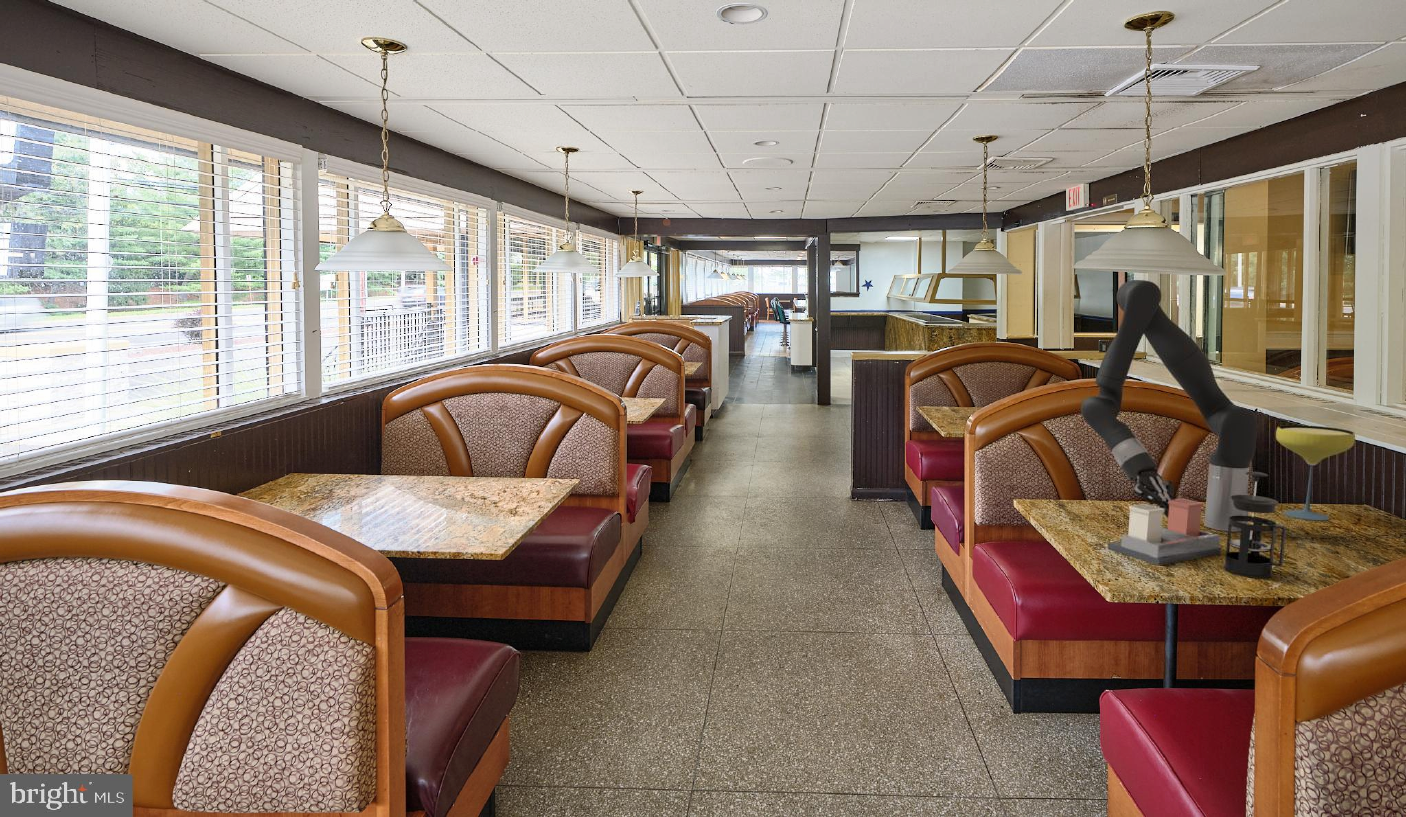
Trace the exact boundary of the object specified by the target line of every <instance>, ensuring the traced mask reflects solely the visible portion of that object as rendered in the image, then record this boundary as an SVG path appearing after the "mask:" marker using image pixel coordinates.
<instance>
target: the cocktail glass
mask: <svg viewBox="0 0 1406 817" xmlns="http://www.w3.org/2000/svg"><path fill="white" fill-rule="evenodd" d="M1275 438H1276V441H1277V442H1278V443H1279V444H1280V445H1282V446H1283V447H1284V448H1286V449H1288V450H1290V451H1291V452H1293V453H1295V454H1297V455H1298V456H1300V457H1302V459H1303V460H1304V461H1305V463H1306V464H1308V466H1310V467H1309V476H1308V485H1307V493H1306V500H1305V501H1306V502H1305V505H1304V508H1303V509H1301V510H1300V509H1299V510H1298V509H1297V510H1295V509H1294V510H1289V509H1288V510H1285V511H1284V512H1283V514H1284V515H1285V516H1287V517H1290V518H1294V519H1298V520H1303V521H1313V522H1326V521H1329V520H1330V519H1331V517H1330V516H1328V515H1326V514H1323V513H1319V512H1314V511H1312V510H1311V489H1312V479H1313V478H1312V477H1313V470H1314V469H1313V468H1314V466H1315V465H1318V464H1319V463H1320V462H1321V461H1322V460H1324V459H1326V458H1328V457H1332V456H1335V455H1338V454H1342V453H1344V452H1346V451H1348V450H1350V449H1351V448H1352V447H1353V446H1354V445H1355V442H1356V434H1355V432H1354V431H1351V430H1347V429H1344V428H1337V427H1327V426H1317V425H1303V424H1300V425H1299V424H1296V425H1295V424H1289V425H1279V426H1277V428H1276V432H1275Z"/></svg>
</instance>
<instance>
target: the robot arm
mask: <svg viewBox="0 0 1406 817" xmlns="http://www.w3.org/2000/svg"><path fill="white" fill-rule="evenodd" d="M1116 301H1117V305H1118V307H1119V308H1120V310H1121V311H1122V312H1123V313H1122V319H1121V322H1120V325H1119V328H1118V330H1117V333H1116V334H1115V336H1114V338H1113V340H1112V341H1111V342H1110V345H1109V346H1108V348H1107V350H1106V352H1105V354H1104V355H1103V358H1102V360H1101V364H1100V366H1099V369H1098V372H1097V374H1096V377H1095V384H1096V386H1097V387H1099V391H1098V392H1099V393H1098V396H1096V395H1095V396H1093V395H1092V396H1089V397H1087V398H1085V399H1084V400H1083V401H1082V403H1081V405H1080V412H1081V415H1082V417H1083V420H1084V421H1085V422H1086V423H1087V425H1088V426H1090V427H1091V429H1093V431H1094V432H1096V434H1097V435H1099V436H1100V438H1101V439H1102V440H1103V441H1104V442H1105V444H1106V446H1107V447H1108V449H1109V450H1110V452H1111V453H1112V455H1113V457H1114V459H1115V461H1116V462H1117V464H1118V465H1119V467H1120V468H1121V470H1122V472H1124V474H1125V475H1126V477H1127V478H1128V480H1129V481H1130V482H1134V484H1135V487H1134V488H1133V489H1132V492H1133V493H1134V494H1135V495H1137V496H1138V497H1140V498H1141V499H1143V500H1144V501H1146V502H1147V503H1148V504H1149V505H1151V506H1154V505H1156V507H1159V508H1163V509H1165V510H1164V512H1163V515H1165V516H1166V518H1167V519H1168V516H1169V504H1168V500H1173V499H1174V497H1175V493H1174V483H1173V481H1172V480H1168V481H1167V480H1164V479H1163V477H1162V476H1161V474H1159V473H1158V472H1157V470H1158V465H1157V463H1156V462H1155V460H1154V459H1153V458H1152V456H1151V455H1150V453H1149V452H1148V451H1147V449H1146V448H1145V447H1144V445H1143V444H1142V443H1141V441H1139V439H1137V437H1136V436H1135V434H1134V433H1133V431H1132V429H1131V428H1130V427H1129V425H1127V424H1126V423H1124V422H1122V421H1121V420H1119V419H1117V418H1118V416H1119V414H1120V412H1121V408H1122V401H1123V389H1124V385H1125V382H1126V379H1127V377H1128V374H1129V371H1130V368H1131V364H1132V362H1133V360H1134V357H1135V354H1136V352H1137V349H1138V348H1139V344H1140V342H1141V340H1142V338H1143V336H1145V338H1146V340H1147V341H1148V343H1149V344H1150V346H1151V348H1152V349H1153V350H1154V351H1153V352H1155V353H1156V354H1157V356H1158V358H1159V359H1160V361H1161V362H1162V364H1163V365H1164V366H1165V368H1166V369H1167V371H1168V372H1169V373H1170V374H1171V376H1172V377H1173V378H1174V380H1175V381H1176V382H1177V383H1178V385H1179V386H1180V387H1181V388H1182V389H1183V391H1184V392H1185V393H1186V394H1187V396H1189V398H1190V399H1191V400H1192V401H1193V403H1194V404H1195V406H1196V408H1197V409H1198V411H1199V412H1200V413H1201V416H1202V417H1203V420H1204V421H1205V423H1206V425H1207V426H1208V428H1209V429H1210V431H1211V432H1212V433H1213V434H1214V435H1216V436H1217V437H1218V440H1217V447H1216V449H1215V451H1213V452H1211V453H1210V455H1209V464H1208V478H1207V486H1206V487H1207V488H1206V501H1205V512H1204V513H1205V514H1204V523H1203V525H1204V526H1205V527H1207V528H1209V529H1212V530H1217V531H1224V532H1228V525H1229V517H1231V516H1238V515H1242V516H1249V512H1247V511H1242V510H1238V509H1236V508H1235V506H1234V503H1233V500H1232V499H1231V496H1234V495H1250V494H1249V493H1248V488H1249V480H1250V479H1249V477H1250V475H1247V474H1246V473H1247V472H1250V466H1251V461H1252V460H1253V458H1254V456H1255V451H1256V444H1257V437H1258V430H1259V429H1258V428H1259V425H1258V424H1259V423H1258V419H1257V416H1256V414H1255V413H1254V412H1253V411H1252V410H1250V409H1248V408H1245V407H1241V406H1238V405H1235V404H1234V402H1233V401H1231V399H1230V398H1228V396H1227V395H1226V394H1225V393H1224V392H1223V390H1222V389H1221V388H1220V386H1219V384H1218V383H1217V381H1216V378H1215V375H1214V371H1213V368H1212V365H1211V363H1210V361H1209V359H1208V357H1207V356H1206V355H1205V353H1204V352H1203V351H1202V349H1201V348H1200V346H1198V344H1197V343H1196V341H1195V340H1193V338H1192V337H1191V336H1190V335H1188V334H1187V333H1186V332H1185V331H1184V330H1183V329H1182V328H1181V327H1179V326H1178V324H1176V323H1175V322H1173V320H1172V319H1171V318H1169V316H1168V315H1167V314H1166V313H1165V311H1164V310H1163V308H1162V307H1161V305H1160V304H1161V301H1162V291H1161V289H1160V288H1159V286H1158V285H1157V284H1156V283H1155V282H1153V281H1151V280H1146V279H1145V280H1144V279H1132V280H1128V281H1126V282H1125V283H1123V284H1121V285H1120V287H1118V290H1117V292H1116ZM1236 522H1240V523H1244V524H1248V522H1247V521H1236ZM1231 532H1232V533H1233V532H1235V533H1236V532H1241V529H1240V528H1236V527H1233V526H1232V528H1231Z"/></svg>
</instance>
